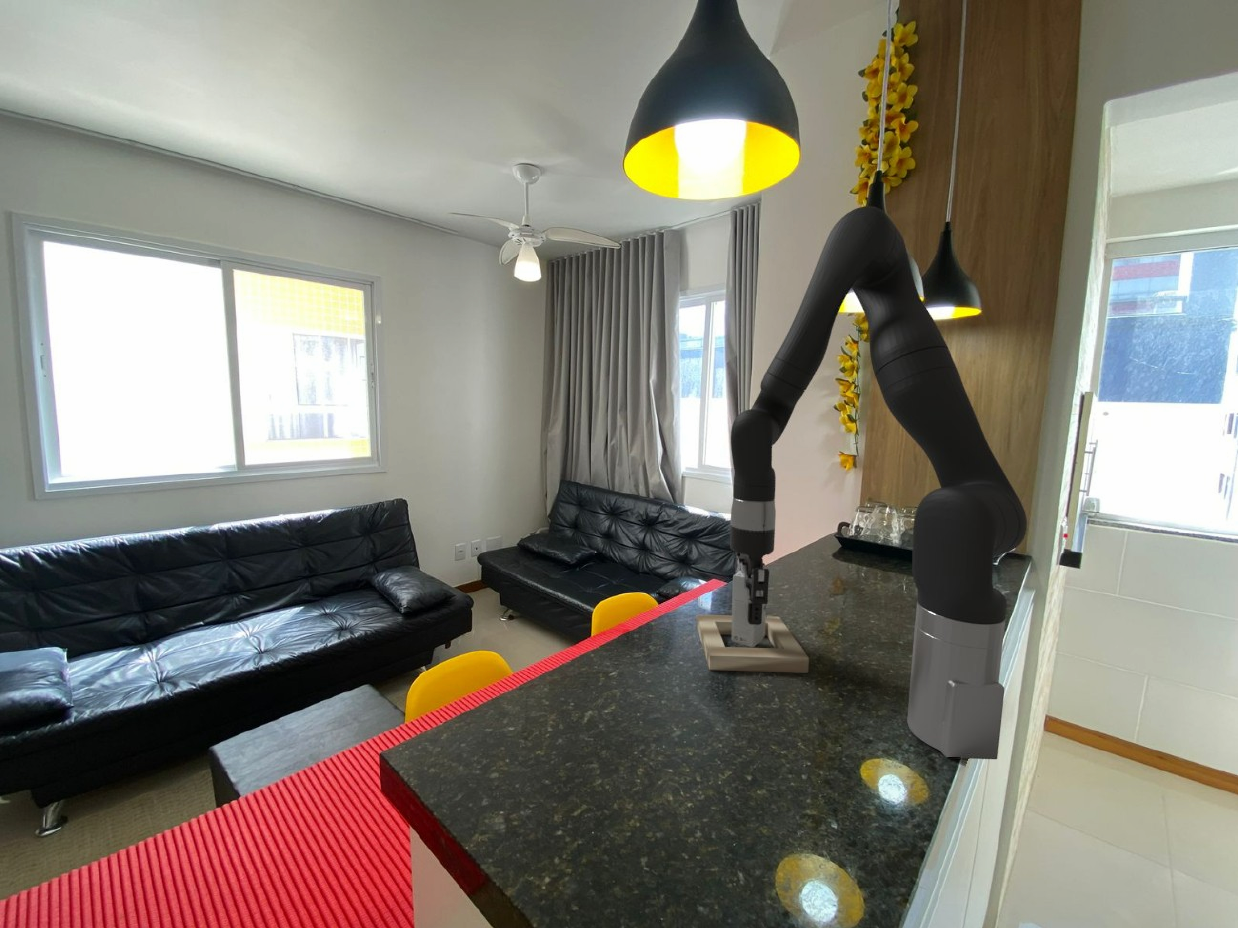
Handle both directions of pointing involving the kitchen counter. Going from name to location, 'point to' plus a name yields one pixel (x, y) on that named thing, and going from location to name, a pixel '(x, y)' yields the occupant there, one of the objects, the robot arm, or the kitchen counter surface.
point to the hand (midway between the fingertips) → (748, 614)
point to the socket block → (750, 659)
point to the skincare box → (744, 615)
